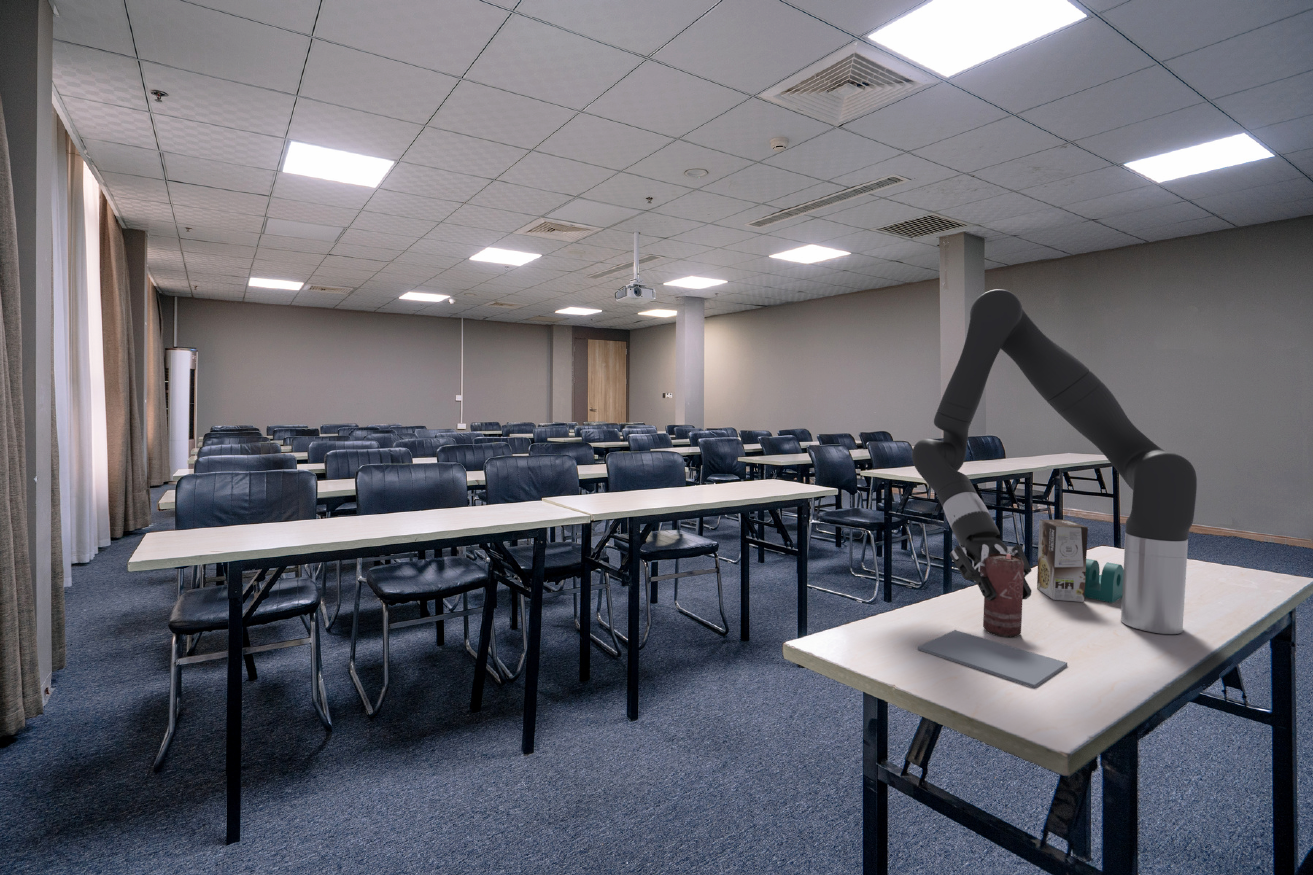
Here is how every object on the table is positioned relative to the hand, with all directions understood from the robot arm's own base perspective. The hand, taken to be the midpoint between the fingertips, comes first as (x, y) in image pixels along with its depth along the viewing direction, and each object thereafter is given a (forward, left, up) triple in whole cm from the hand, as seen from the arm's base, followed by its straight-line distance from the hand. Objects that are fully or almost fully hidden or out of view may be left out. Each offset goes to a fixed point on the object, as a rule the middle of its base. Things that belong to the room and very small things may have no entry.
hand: (1009, 597), depth 112 cm
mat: (+13, +3, -7) cm, 15 cm away
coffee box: (-35, -3, -7) cm, 36 cm away
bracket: (-47, +2, -7) cm, 47 cm away
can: (-1, -1, -7) cm, 7 cm away
